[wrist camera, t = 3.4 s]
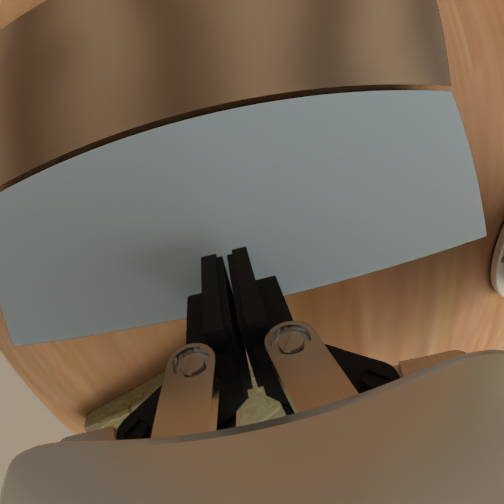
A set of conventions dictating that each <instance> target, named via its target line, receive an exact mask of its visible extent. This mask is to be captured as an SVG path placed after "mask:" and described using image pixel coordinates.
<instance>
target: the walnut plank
mask: <svg viewBox="0 0 504 504" xmlns="http://www.w3.org/2000/svg"><path fill="white" fill-rule="evenodd" d="M384 84H415V85H441V86H451V82H450V73H449V65H448V58H447V51H446V45H445V39H444V34H443V29H442V24H441V19H440V14H439V10H438V6H437V2H436V0H47V1H45V2H43V3H42V4H40V5H38V6H37V7H35V8H33V9H32V10H30V11H28V12H27V13H25V14H23V15H22V16H20V17H19V18H17V19H16V20H14V21H13V22H11V23H10V24H8V25H7V26H5V27H4V28H3V29H1V30H0V186H1V185H3V184H4V183H6V182H8V181H10V180H12V179H14V178H16V177H18V176H19V175H21V174H23V173H25V172H27V171H29V170H31V169H33V168H35V167H38V166H40V165H42V164H44V163H46V162H48V161H50V160H53V159H55V158H57V157H59V156H62V155H64V154H66V153H68V152H71V151H73V150H76V149H78V148H80V147H83V146H85V145H88V144H90V143H93V142H96V141H98V140H101V139H104V138H106V137H109V136H112V135H115V134H117V133H120V132H123V131H126V130H129V129H132V128H135V127H138V126H141V125H144V124H148V123H151V122H154V121H157V120H161V119H164V118H168V117H171V116H175V115H179V114H182V113H186V112H190V111H194V110H198V109H202V108H206V107H210V106H215V105H219V104H224V103H229V102H233V101H238V100H244V99H249V98H254V97H260V96H266V95H272V94H279V93H286V92H293V91H301V90H309V89H319V88H329V87H342V86H357V85H384Z"/></svg>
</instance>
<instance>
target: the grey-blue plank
mask: <svg viewBox="0 0 504 504" xmlns="http://www.w3.org/2000/svg"><path fill="white" fill-rule="evenodd" d="M486 236H487V233H486V226H485V218H484V212H483V206H482V200H481V194H480V189H479V184H478V180H477V175H476V171H475V166H474V162H473V158H472V154H471V150H470V147H469V143H468V140H467V136H466V133H465V129H464V126H463V123H462V120H461V117H460V114H459V111H458V108H457V105H456V102H455V100H454V97H453V94H452V92H451V91H432V90H384V91H362V92H347V93H335V94H324V95H315V96H306V97H299V98H291V99H284V100H278V101H271V102H265V103H260V104H254V105H249V106H243V107H238V108H233V109H229V110H224V111H219V112H215V113H211V114H206V115H202V116H198V117H194V118H190V119H186V120H183V121H179V122H175V123H172V124H168V125H165V126H161V127H158V128H154V129H151V130H148V131H145V132H141V133H138V134H135V135H132V136H129V137H126V138H123V139H120V140H117V141H115V142H112V143H109V144H106V145H103V146H101V147H98V148H95V149H93V150H90V151H88V152H85V153H83V154H80V155H78V156H75V157H73V158H70V159H68V160H66V161H63V162H61V163H59V164H56V165H54V166H52V167H50V168H47V169H45V170H43V171H41V172H39V173H37V174H35V175H32V176H30V177H28V178H26V179H24V180H22V181H20V182H18V183H16V184H14V185H12V186H11V187H9V188H7V189H5V190H3V191H1V192H0V306H1V310H2V313H3V317H4V320H5V323H6V326H7V329H8V332H9V335H10V338H11V341H12V344H13V347H15V346H23V345H31V344H38V343H46V342H53V341H60V340H66V339H73V338H79V337H86V336H92V335H98V334H104V333H110V332H116V331H121V330H127V329H132V328H138V327H143V326H149V325H154V324H159V323H164V322H169V321H174V320H179V319H184V318H187V298H188V296H191V295H195V294H199V293H202V290H201V257H204V256H208V255H212V254H216V256H217V257H221V256H222V257H223V260H224V264H225V267H226V271H227V275H228V278H229V282H230V285H231V279H230V273H229V267H228V260H227V255H229V254H232V250H233V249H237V248H241V247H245V246H246V248H247V252H248V255H249V259H250V262H251V266H252V269H253V273H254V276H255V280H258V279H262V278H266V277H270V276H274V275H275V276H276V278H277V281H278V283H279V286H280V288H281V291H282V293H283V296H286V295H290V294H294V293H297V292H301V291H305V290H309V289H313V288H317V287H321V286H325V285H328V284H332V283H336V282H339V281H343V280H347V279H350V278H354V277H358V276H361V275H365V274H368V273H372V272H375V271H379V270H382V269H385V268H389V267H392V266H396V265H399V264H402V263H406V262H409V261H412V260H415V259H419V258H422V257H425V256H428V255H431V254H435V253H438V252H441V251H444V250H447V249H450V248H453V247H456V246H459V245H462V244H465V243H468V242H471V241H474V240H477V239H480V238H483V237H486ZM231 289H232V285H231ZM232 292H233V291H232Z"/></svg>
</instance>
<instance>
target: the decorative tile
mask: <svg viewBox="0 0 504 504" xmlns="http://www.w3.org/2000/svg"><path fill="white" fill-rule="evenodd" d="M245 349H246V348H245ZM246 354H247V352H246ZM247 359H248V364H249V370H250V375H251V380H252V385H253V389H250V390H248V396H249V399H246V401H245V402H244V403H243V404H242V406H241V407H240V408H239V410H240V415H241V416H240V426H243V425H248V424H253V423H258V422H262V421H267V420H271V419H275V418H279V417H283V416H285V415H284V413H283V411H282V409H281V407H280V404H279V401H277V400H275V399H272V398H270V397H268V396H266V394H265V390H264V387H258V386H257V383H256V380H255V377H254V374H253V371H252V367H251V364H250V361H249V358H248V355H247ZM164 374H165V371H164V372H162V373H161V374H159V375H157V376H155V377H154V378H152V379H150V380H149V381H147V382H145V383H143V384H142V385H140V386H138V387H136V388H134V389H133V390H131V391H129V392H127V393H126V394H124V395H122V396H120V397H118V398H116V399H114V400H113V401H111V402H109V403H107V404H105V405H103V406H101V407H100V408H98V409H96V410H94V411H92V412H90V413H88V415H87V417H86V421H85V425H84V426H85V430H86V431H87V432H90V431H94V430H98V429H101V428H105V427H109V426H114V427H115V428H118V427H119V425H120V424H121V423H122V422H123V420H124V419H125V418H126V417H128V416H129V415H130V414H131V413H132V412H133V411H134V410H135V409H136V408H137V407H138V406H139V405H140V404H142V403H143V402H144V401H145V400H146V399H147V398H148V397H149V396H150V395H151V394H152V393H153V392H154V391H155V390H157V389H158V388H159V387H160V386H161V385H162V383H163V379H164Z"/></svg>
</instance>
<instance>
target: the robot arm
mask: <svg viewBox="0 0 504 504" xmlns="http://www.w3.org/2000/svg"><path fill="white" fill-rule="evenodd" d="M227 260H228V267H229V273H230V279H231V285H232V289H231V285H230V282H229V278H228V275H227V271H226V267H225V264H224V260H223V257H222V256H221V257H217V256H216V254H212V255H208V256H204V257H201V290H202V293H199V294H195V295H191V296H188V298H187V330H186V345H185V346H182V347H180V348H179V349H177V350H176V351H175V352H174V353H173V354H172V355H171V356H170V358H169V360H168V362H167V366H166V370H165V374H164V379H163V383H162V385H161V386H160V387H159V388H158V389H157V390H155V391H154V392H153V393H152V394H151V395H150V396H149V397H148V398H147V399H146V400H145V401H144V402H143V403H142V404H140V405H139V406H138V407H137V408H136V409H135V410H134V411H133V412H132V413H131V414H130V415H129V416H128V417H126V418H125V419H124V420H123V422H122V423H121V424H120V425H119V427H118V428H115V427H114V426H109V427H105V428H101V429H98V430H94V431H90V432H86V433H82V434H77V435H73V436H69V437H66V438H64V439H62V440H61V441H60V442H57V443H49V444H44V445H40V446H36V447H33V448H31V449H28V450H25V451H24V452H22V453H20V454H19V455H17V456H16V457H15V458H14V459H13V460H12V462H11V463H10V465H9V467H8V469H7V472H6V475H5V478H4V482H3V486H2V490H1V495H0V504H504V351H503V350H485V351H477V352H471V353H465V352H463V351H459V350H452V351H447V352H443V353H439V354H434V355H430V356H425V357H420V358H415V359H410V360H405V361H400V362H399V364H398V365H396V366H391V365H389V364H387V363H385V362H382V361H378V360H375V359H372V358H368V357H365V356H362V355H358V354H355V353H352V352H348V351H345V350H342V349H339V348H336V347H333V346H329V345H326V344H324V343H323V342H322V340H321V339H320V337H319V336H318V335H317V333H316V332H315V330H314V329H313V328H312V327H311V326H310V325H308V324H306V323H304V322H299V321H293V319H292V317H291V314H290V311H289V309H288V306H287V304H286V301H285V299H284V296H283V293H282V291H281V288H280V286H279V283H278V281H277V278H276V276H275V275H274V276H270V277H266V278H262V279H258V280H255V276H254V273H253V269H252V266H251V262H250V259H249V255H248V252H247V248H246V246H245V247H241V248H237V249H233V250H232V254H229V255H227ZM491 283H492V286H493V288H494V290H495V291H496V292H497V293H498V294H499V295H500V296H502V297H504V225H503V227H502V229H501V232H500V234H499V237H498V240H497V243H496V246H495V250H494V254H493V257H492V264H491ZM232 291H233V292H232ZM245 348H246V349H245ZM246 352H247V354H246ZM247 355H248V358H249V361H250V364H251V367H252V371H253V374H254V377H255V380H256V383H257V386H258V387H264V390H265V394H266V396H268V397H270V398H272V399H275V400H277V401H279V404H280V407H281V409H282V411H283V413H284V415H285V416H283V417H279V418H275V419H271V420H267V421H262V422H258V423H253V424H248V425H243V426H240V416H241V415H240V410H239V408H240V407H241V406H242V404H243V403H244V402H245V401H246V399H249V396H248V390H250V389H253V385H252V380H251V375H250V370H249V364H248V359H247Z"/></svg>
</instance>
